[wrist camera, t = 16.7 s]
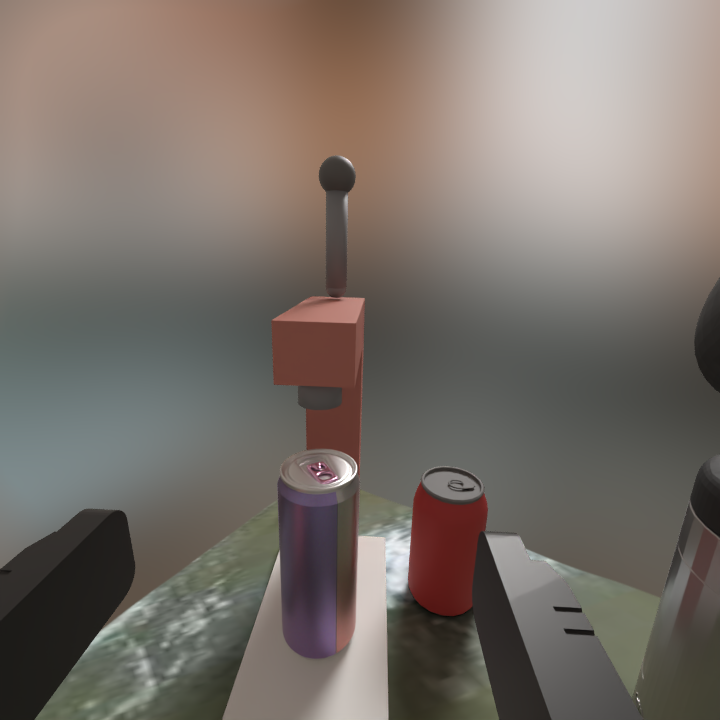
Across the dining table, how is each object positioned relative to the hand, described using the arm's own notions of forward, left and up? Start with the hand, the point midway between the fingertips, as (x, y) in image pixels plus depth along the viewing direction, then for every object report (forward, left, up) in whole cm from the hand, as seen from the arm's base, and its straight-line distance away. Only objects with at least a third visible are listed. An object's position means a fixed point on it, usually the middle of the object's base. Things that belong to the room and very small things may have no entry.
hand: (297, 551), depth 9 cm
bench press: (+2, -20, -25) cm, 32 cm away
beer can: (-9, -24, -25) cm, 36 cm away
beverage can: (+2, -18, -24) cm, 29 cm away
